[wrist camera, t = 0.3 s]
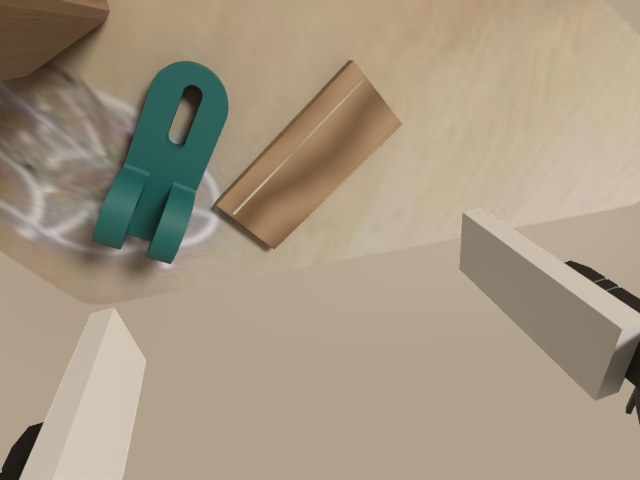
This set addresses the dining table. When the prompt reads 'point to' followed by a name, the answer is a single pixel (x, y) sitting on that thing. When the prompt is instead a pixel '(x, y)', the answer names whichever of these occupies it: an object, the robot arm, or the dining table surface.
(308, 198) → the plank
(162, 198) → the bracket
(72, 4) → the block
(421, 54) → the dining table surface
